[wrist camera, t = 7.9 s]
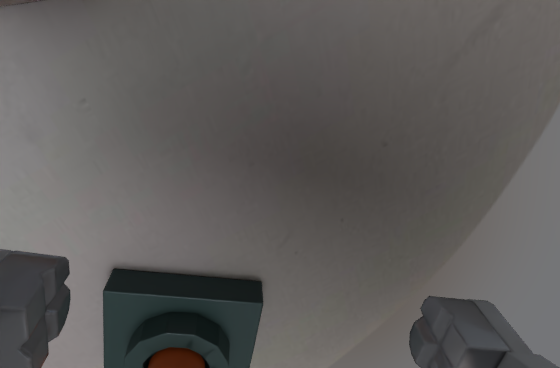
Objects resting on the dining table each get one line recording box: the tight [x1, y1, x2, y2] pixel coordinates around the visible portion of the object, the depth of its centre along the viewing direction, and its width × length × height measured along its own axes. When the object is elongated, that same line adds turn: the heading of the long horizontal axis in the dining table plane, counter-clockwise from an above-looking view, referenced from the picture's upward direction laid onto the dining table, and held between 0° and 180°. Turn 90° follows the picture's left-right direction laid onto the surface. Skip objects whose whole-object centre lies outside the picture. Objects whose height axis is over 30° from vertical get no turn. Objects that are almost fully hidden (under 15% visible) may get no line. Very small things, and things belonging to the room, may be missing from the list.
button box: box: [103, 269, 263, 368], centre depth 27 cm, size 10×9×4 cm
